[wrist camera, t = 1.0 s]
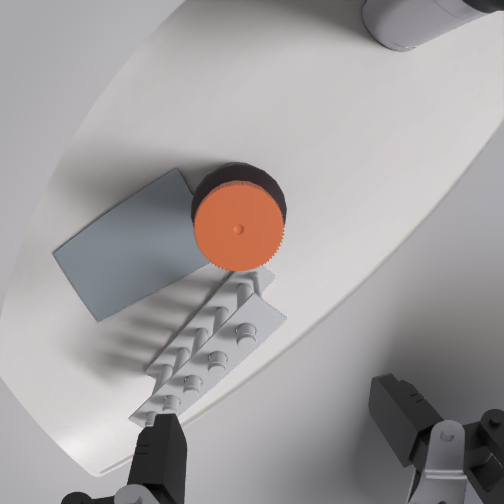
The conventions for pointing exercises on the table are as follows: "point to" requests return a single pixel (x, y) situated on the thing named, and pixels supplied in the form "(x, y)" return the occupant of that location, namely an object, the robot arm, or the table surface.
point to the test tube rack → (211, 344)
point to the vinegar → (238, 217)
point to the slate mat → (134, 248)
